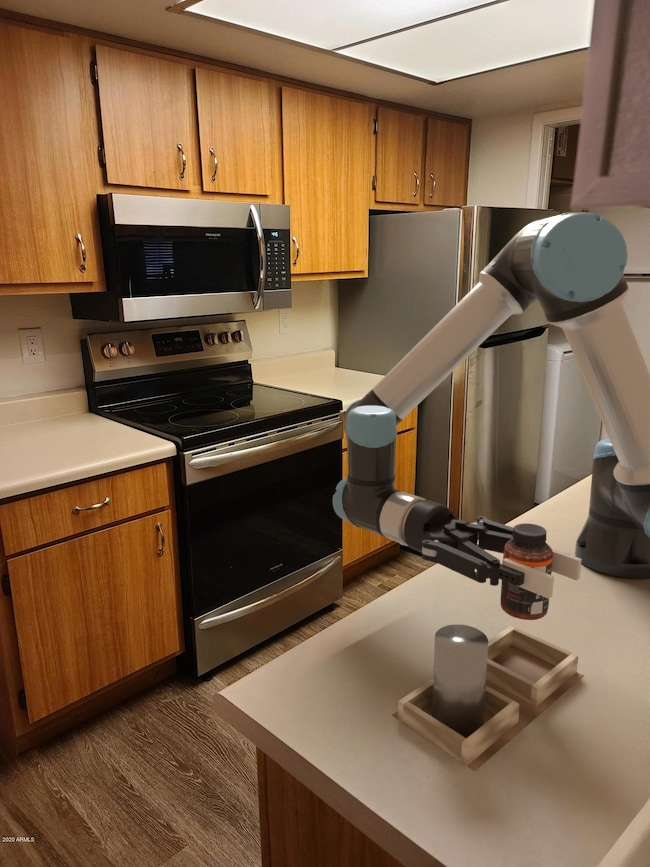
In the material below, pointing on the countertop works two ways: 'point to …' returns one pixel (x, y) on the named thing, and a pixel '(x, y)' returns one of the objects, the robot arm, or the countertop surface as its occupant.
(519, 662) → the wooden divided tray
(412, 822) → the countertop surface
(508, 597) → the supplement bottle
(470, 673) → the billet
